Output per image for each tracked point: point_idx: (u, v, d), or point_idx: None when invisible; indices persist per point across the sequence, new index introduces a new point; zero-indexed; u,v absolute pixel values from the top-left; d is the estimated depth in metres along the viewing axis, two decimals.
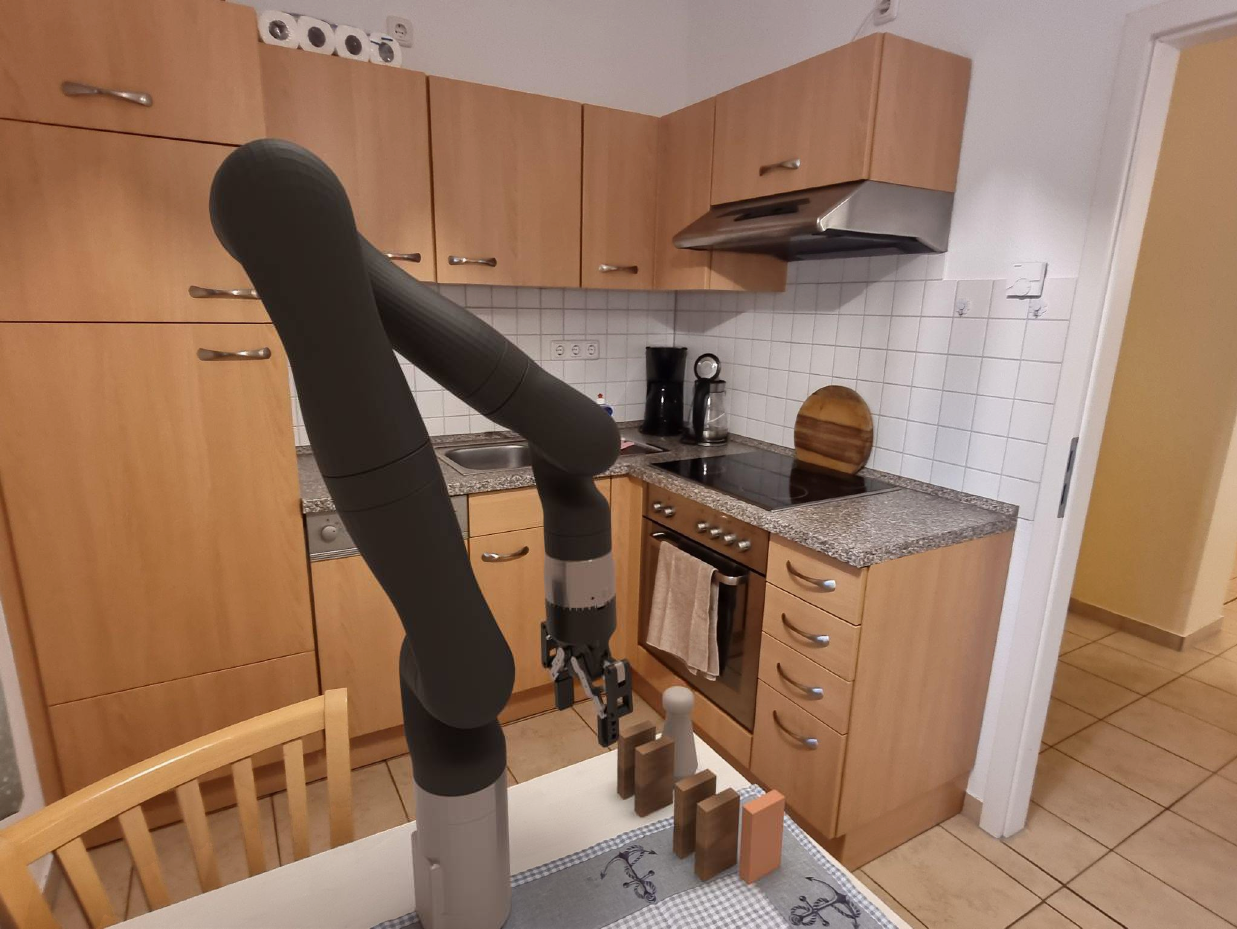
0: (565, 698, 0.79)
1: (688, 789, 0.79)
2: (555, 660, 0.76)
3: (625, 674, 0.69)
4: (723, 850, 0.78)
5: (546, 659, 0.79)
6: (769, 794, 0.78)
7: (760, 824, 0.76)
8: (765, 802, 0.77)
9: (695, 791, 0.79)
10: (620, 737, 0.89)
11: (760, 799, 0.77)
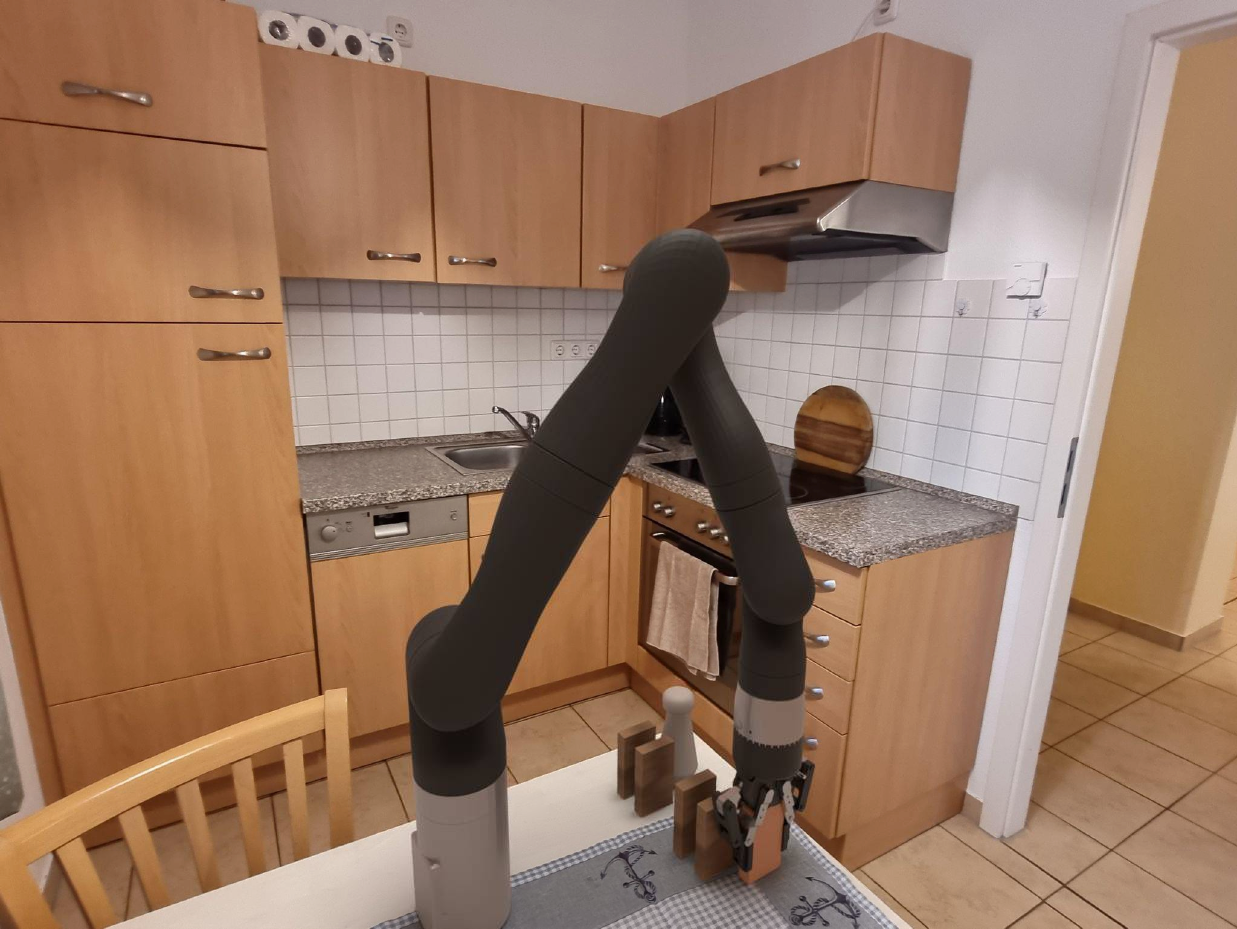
0: None
1: (688, 789, 0.79)
2: (759, 815, 0.74)
3: None
4: (723, 850, 0.78)
5: (739, 834, 0.74)
6: None
7: None
8: None
9: (695, 791, 0.79)
10: (620, 737, 0.89)
11: None
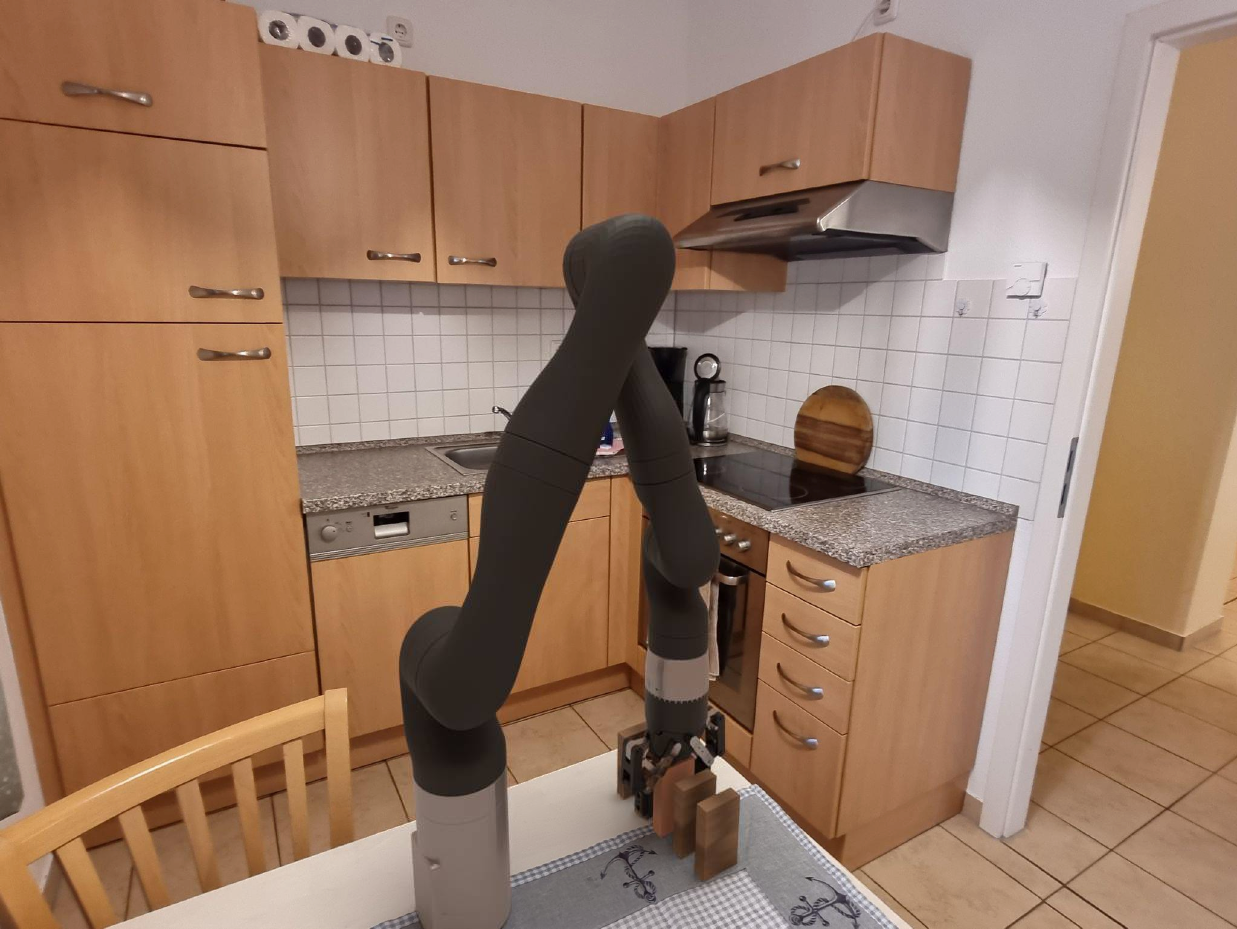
0: None
1: (688, 789, 0.79)
2: (663, 765, 0.80)
3: None
4: (723, 850, 0.78)
5: (640, 782, 0.79)
6: None
7: (670, 781, 0.83)
8: None
9: (695, 791, 0.79)
10: (620, 737, 0.89)
11: None
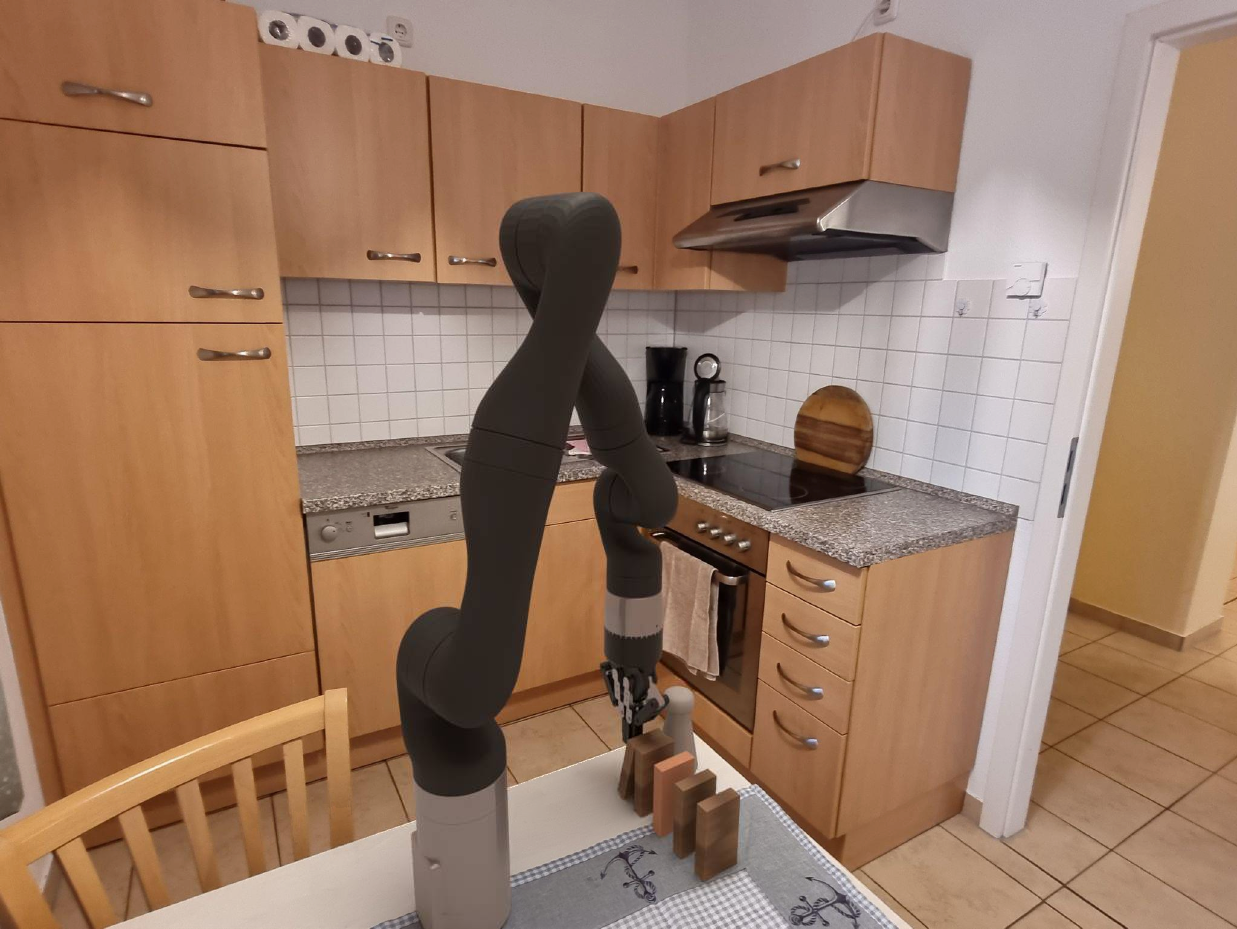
0: None
1: (688, 789, 0.79)
2: None
3: None
4: (723, 850, 0.78)
5: None
6: (680, 755, 0.85)
7: (670, 781, 0.83)
8: (675, 762, 0.83)
9: (695, 791, 0.79)
10: (630, 746, 0.87)
11: (671, 759, 0.84)
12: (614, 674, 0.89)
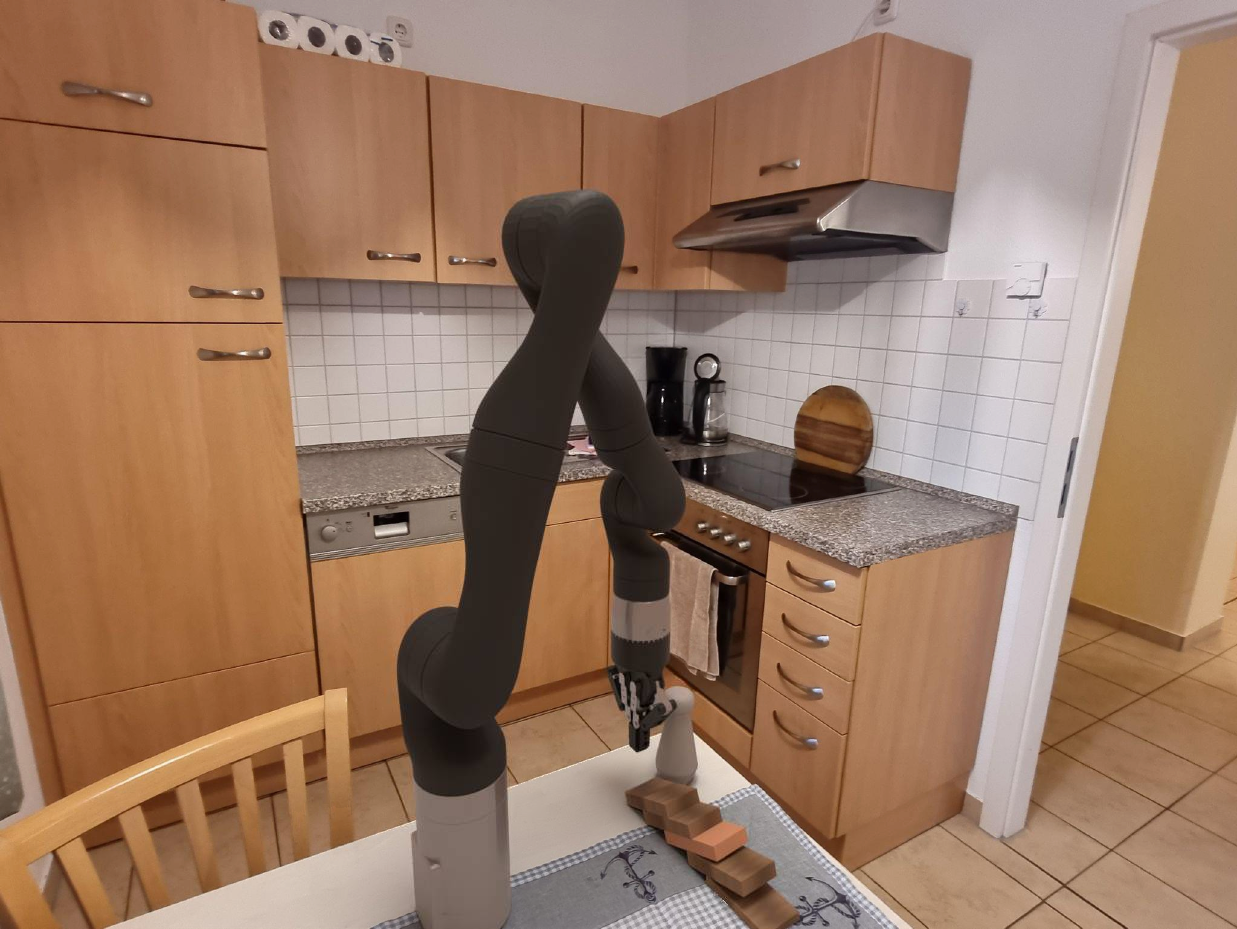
0: None
1: (748, 893, 0.72)
2: None
3: None
4: None
5: None
6: (738, 834, 0.78)
7: None
8: (731, 846, 0.77)
9: None
10: (664, 810, 0.82)
11: (729, 840, 0.77)
12: (621, 678, 0.88)
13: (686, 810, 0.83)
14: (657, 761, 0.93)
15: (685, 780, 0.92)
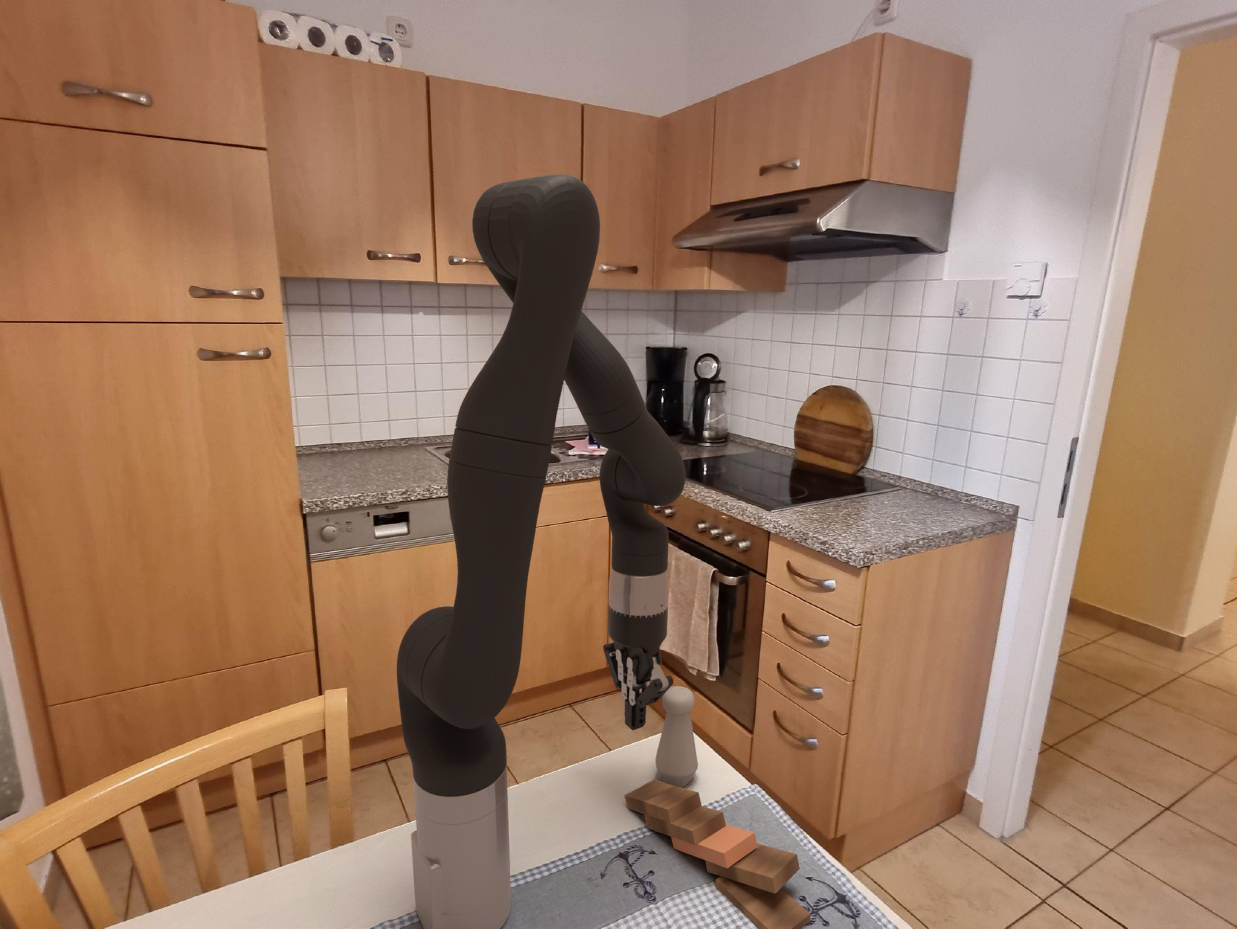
0: None
1: (779, 889, 0.72)
2: None
3: None
4: None
5: None
6: (748, 840, 0.77)
7: None
8: (741, 852, 0.76)
9: None
10: (667, 815, 0.82)
11: (739, 846, 0.76)
12: (618, 655, 0.88)
13: (689, 815, 0.82)
14: (657, 761, 0.93)
15: (685, 780, 0.92)
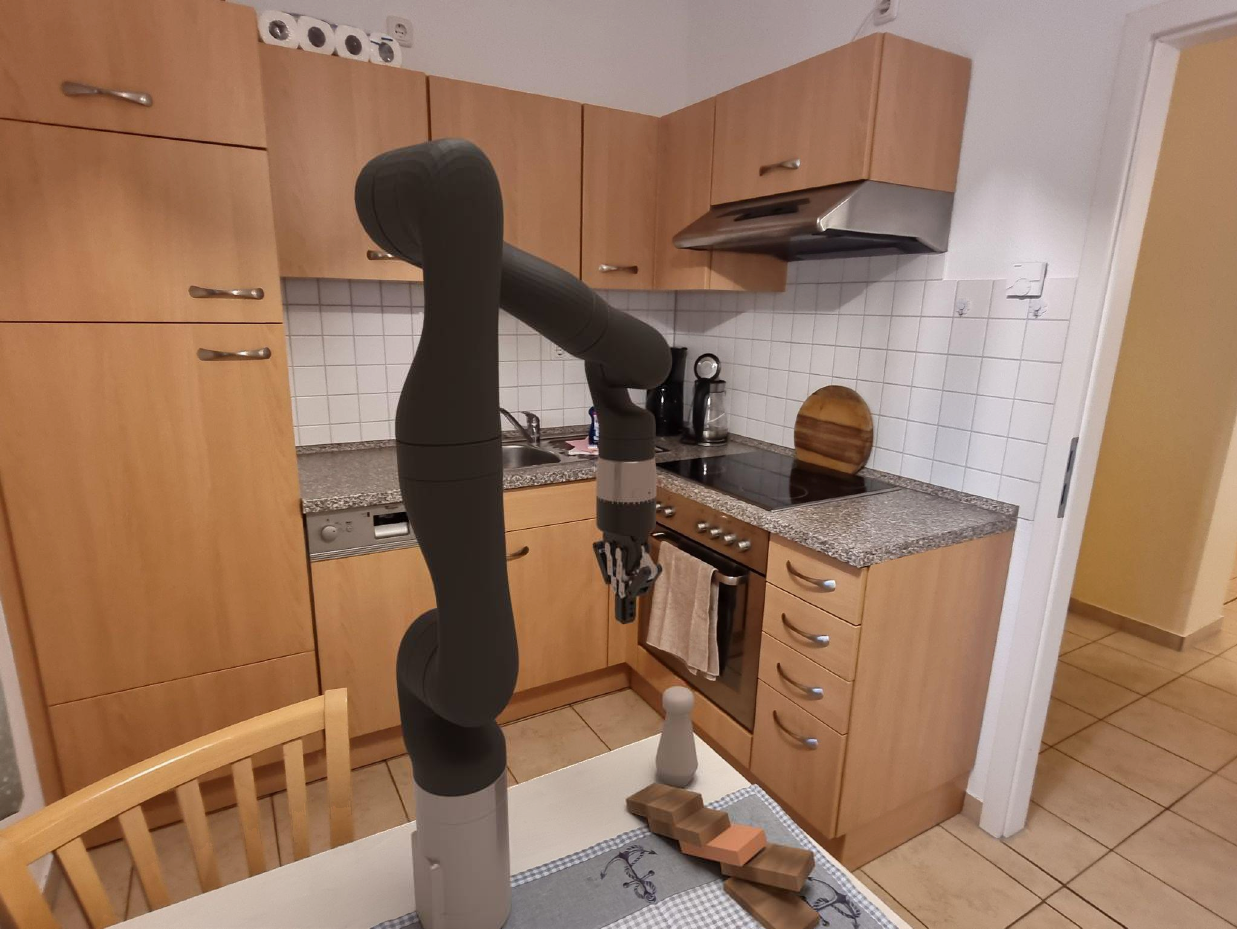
0: None
1: (801, 887, 0.73)
2: None
3: None
4: None
5: None
6: (758, 836, 0.77)
7: None
8: (753, 849, 0.76)
9: None
10: (671, 817, 0.81)
11: (751, 843, 0.76)
12: (606, 548, 0.88)
13: (693, 817, 0.82)
14: (657, 761, 0.93)
15: (685, 780, 0.92)
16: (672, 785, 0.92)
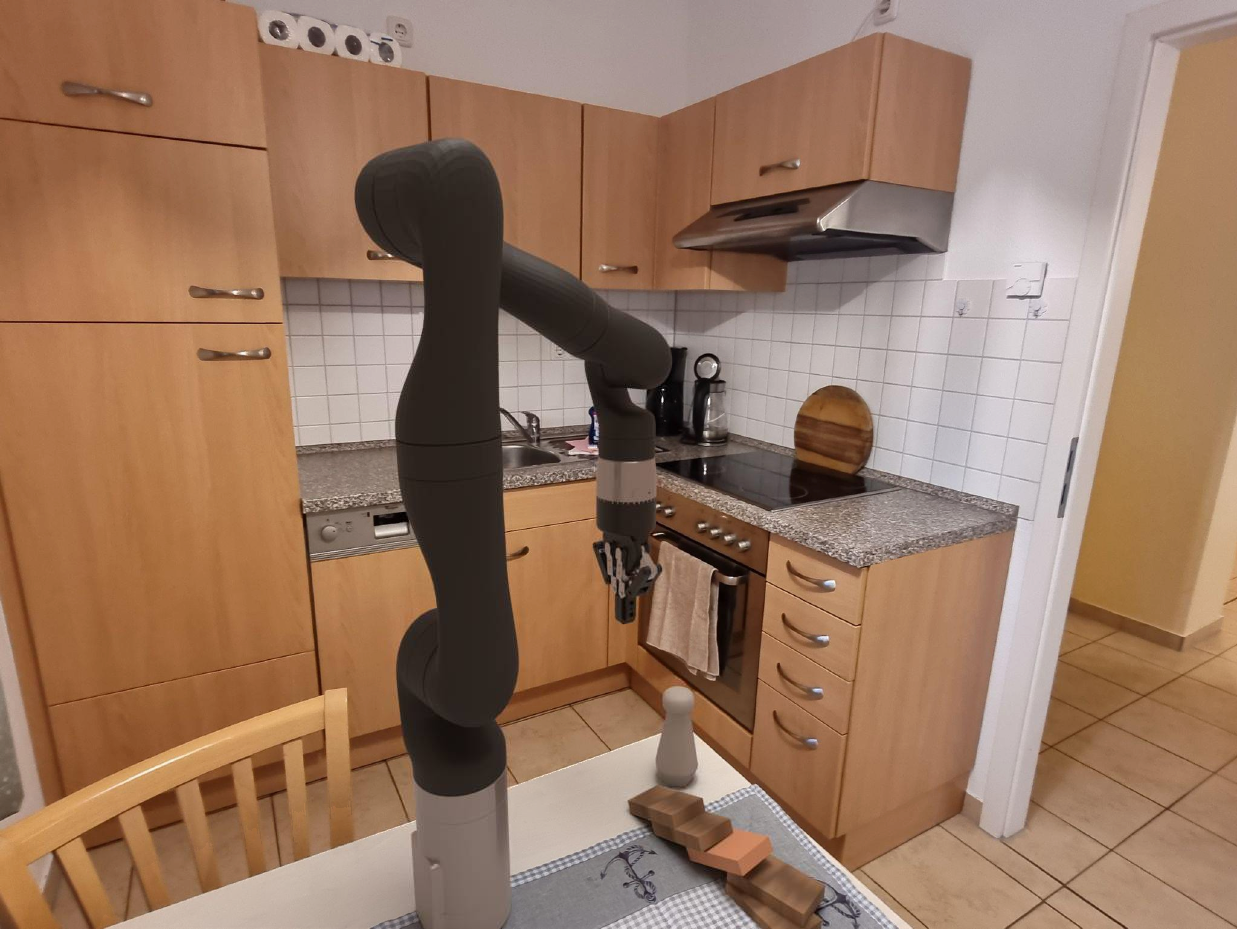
0: None
1: (805, 922, 0.71)
2: None
3: None
4: None
5: None
6: (762, 844, 0.75)
7: None
8: (756, 858, 0.74)
9: None
10: (671, 821, 0.81)
11: (754, 851, 0.74)
12: (606, 548, 0.88)
13: (696, 821, 0.81)
14: (657, 761, 0.93)
15: (685, 780, 0.92)
16: (672, 785, 0.92)
